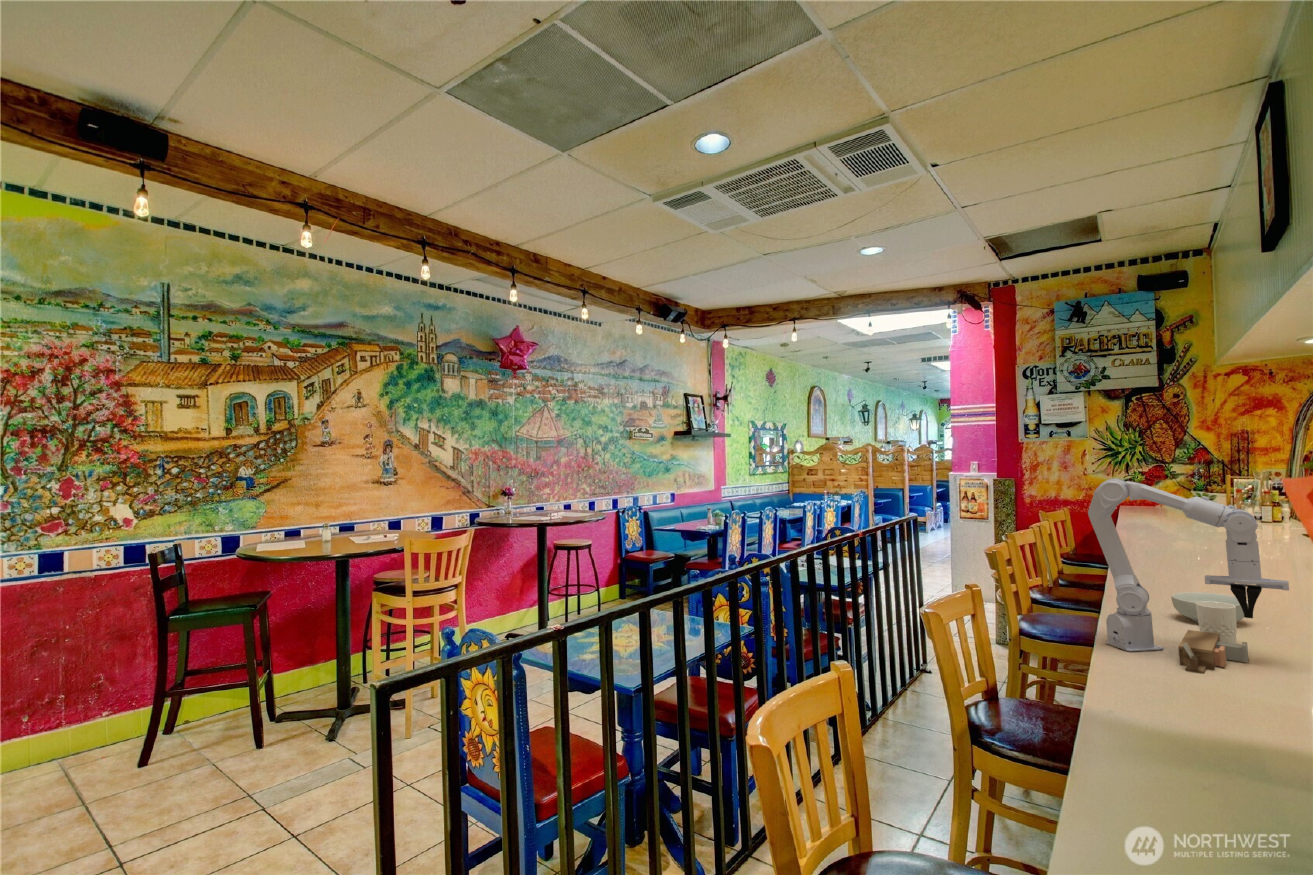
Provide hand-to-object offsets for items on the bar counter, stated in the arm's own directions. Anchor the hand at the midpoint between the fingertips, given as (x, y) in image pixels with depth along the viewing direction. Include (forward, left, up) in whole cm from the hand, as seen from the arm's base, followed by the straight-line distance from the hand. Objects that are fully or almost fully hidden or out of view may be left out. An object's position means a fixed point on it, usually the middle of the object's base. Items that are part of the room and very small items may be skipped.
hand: (1248, 617), depth 147 cm
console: (-10, +3, -10) cm, 15 cm away
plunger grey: (-4, +3, -10) cm, 11 cm away
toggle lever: (-17, -3, -8) cm, 19 cm away
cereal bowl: (+22, +33, -11) cm, 42 cm away
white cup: (+6, +14, -11) cm, 19 cm away
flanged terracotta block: (-11, +1, -10) cm, 15 cm away
